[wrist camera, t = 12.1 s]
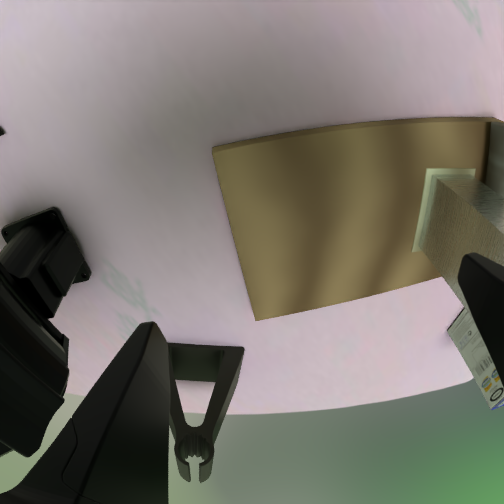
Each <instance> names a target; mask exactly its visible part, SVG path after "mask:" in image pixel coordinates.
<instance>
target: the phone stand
mask: <svg viewBox="0 0 504 504" xmlns="http://www.w3.org/2000/svg"><path fill="white" fill-rule="evenodd" d="M167 345H168V361H169V379H170V418H169V425H170V428H171V431H172V434H173V437H174V439H175V446H174V451H175V456H176V461H177V465H178V469H179V473H180V475H181V476H182V477H183V479H185V480H186V481H188V482H190V481H191V477H190V467H189V463H188V462H186V461H185V458H186V459H187V458H188V455H189V456H191V457H193V456H194V455H196V456H197V457H200V456H201V457H202V459H204V462H202V463H200V464H199V481H200V483H201V482H204V481H206V480H207V479H208V478H209V476H210V474H211V470H212V464H213V457H214V443H215V441H216V438H217V436H218V433H219V430H220V428H221V425H222V422H223V420H224V417H225V415H226V412H227V410H228V407H229V404H230V402H231V399H232V396H233V394H234V391H235V389H236V386H237V383H238V378H239V374H240V369H241V365H242V360H243V355H244V348H243V347H236V346H213V345H198V346H195V344H181V343H168V342H167ZM175 379H176V380H190V381H207V382H216V383H215V386H214V389H213V392H212V396H211V399H210V402H209V406H208V409H207V412H206V415H205V419H204V422H203V424H202V425H201V426H198V427H191V426H189V425H188V424H187V423H186V421H185V418H184V414H183V410H182V406H181V402H180V398H179V394H178V390H177V386H176V382H175Z"/></svg>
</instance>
